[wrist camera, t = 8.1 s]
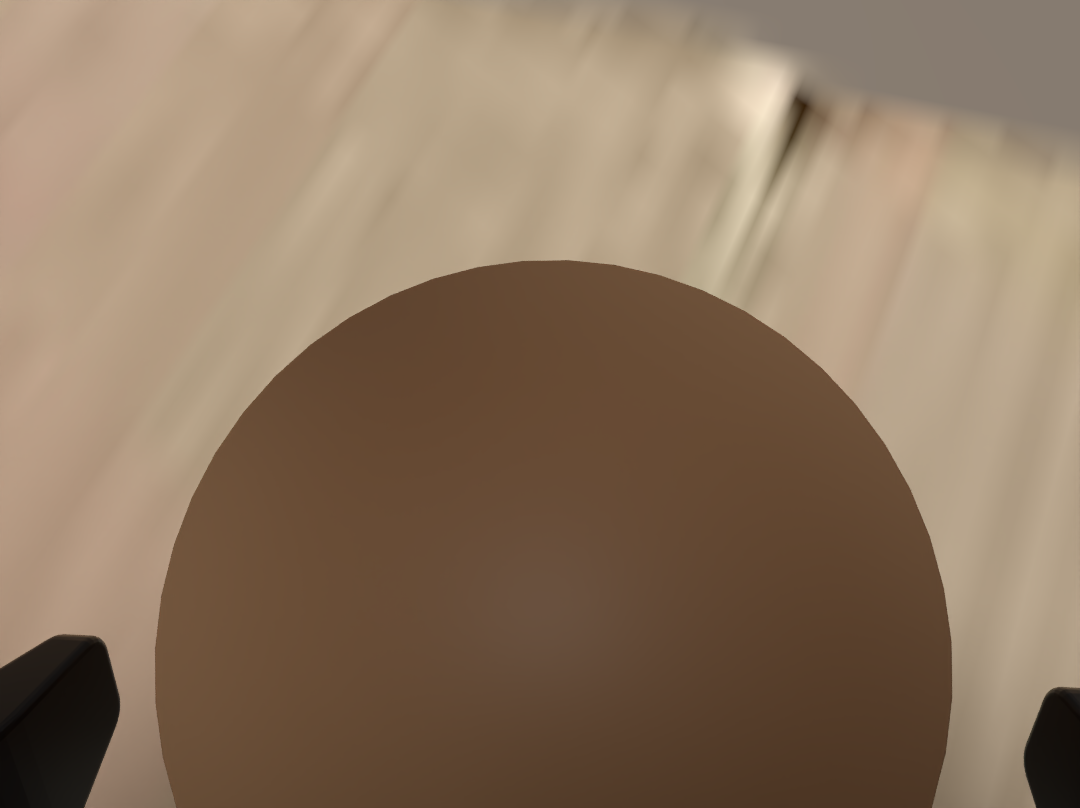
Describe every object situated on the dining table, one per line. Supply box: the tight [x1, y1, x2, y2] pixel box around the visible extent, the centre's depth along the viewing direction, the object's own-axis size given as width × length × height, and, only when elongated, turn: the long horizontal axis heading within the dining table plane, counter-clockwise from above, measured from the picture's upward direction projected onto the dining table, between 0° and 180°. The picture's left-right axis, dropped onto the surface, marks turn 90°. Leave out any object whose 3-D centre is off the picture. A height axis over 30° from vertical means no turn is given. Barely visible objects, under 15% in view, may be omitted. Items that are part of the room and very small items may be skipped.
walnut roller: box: [155, 260, 952, 808], centre depth 11 cm, size 4×4×12 cm
